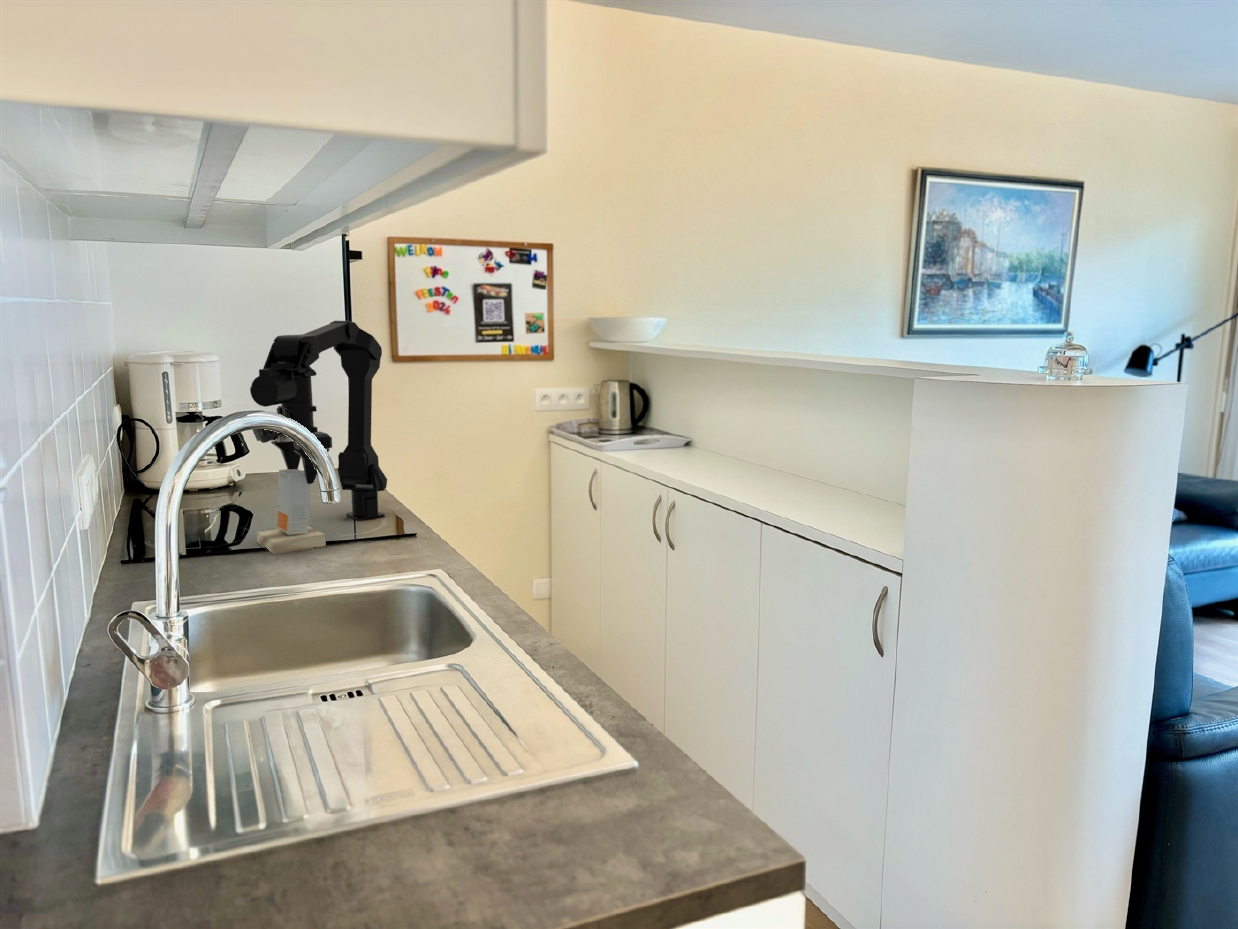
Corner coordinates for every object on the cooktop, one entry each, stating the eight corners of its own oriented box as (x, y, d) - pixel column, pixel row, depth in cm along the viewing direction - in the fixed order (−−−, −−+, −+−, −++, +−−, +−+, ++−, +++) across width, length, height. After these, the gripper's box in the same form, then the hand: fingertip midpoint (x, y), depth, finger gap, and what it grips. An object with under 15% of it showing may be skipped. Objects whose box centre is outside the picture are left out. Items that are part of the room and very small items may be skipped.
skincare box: (275, 528, 179) (278, 469, 177) (296, 527, 182) (299, 468, 180) (287, 535, 174) (290, 474, 173) (308, 533, 177) (311, 473, 176)
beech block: (257, 546, 179) (256, 532, 178) (307, 538, 185) (306, 524, 184) (274, 557, 171) (273, 542, 171) (325, 549, 177) (325, 534, 177)
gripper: (238, 399, 176) (243, 477, 179) (271, 408, 162) (276, 493, 165) (295, 395, 183) (299, 471, 186) (331, 404, 169) (335, 485, 172)
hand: (301, 479), depth 177 cm, fingers open, 9 cm apart
